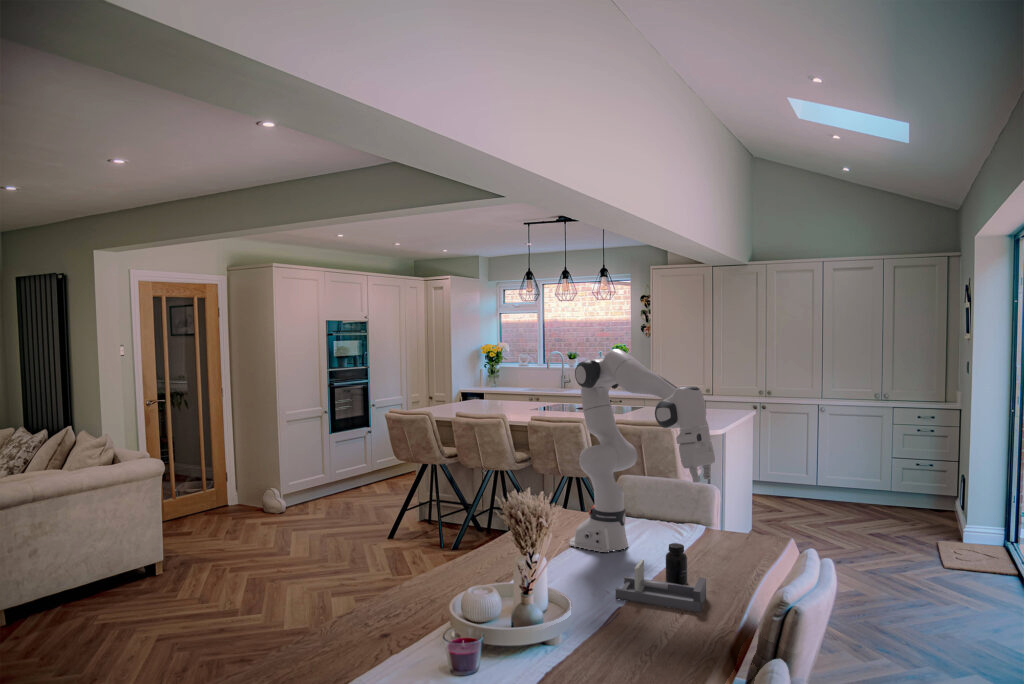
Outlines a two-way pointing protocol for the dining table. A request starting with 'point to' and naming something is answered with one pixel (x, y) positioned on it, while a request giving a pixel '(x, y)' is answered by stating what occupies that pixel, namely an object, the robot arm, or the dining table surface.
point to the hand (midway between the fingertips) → (702, 480)
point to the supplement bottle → (676, 564)
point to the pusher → (641, 582)
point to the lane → (666, 595)
